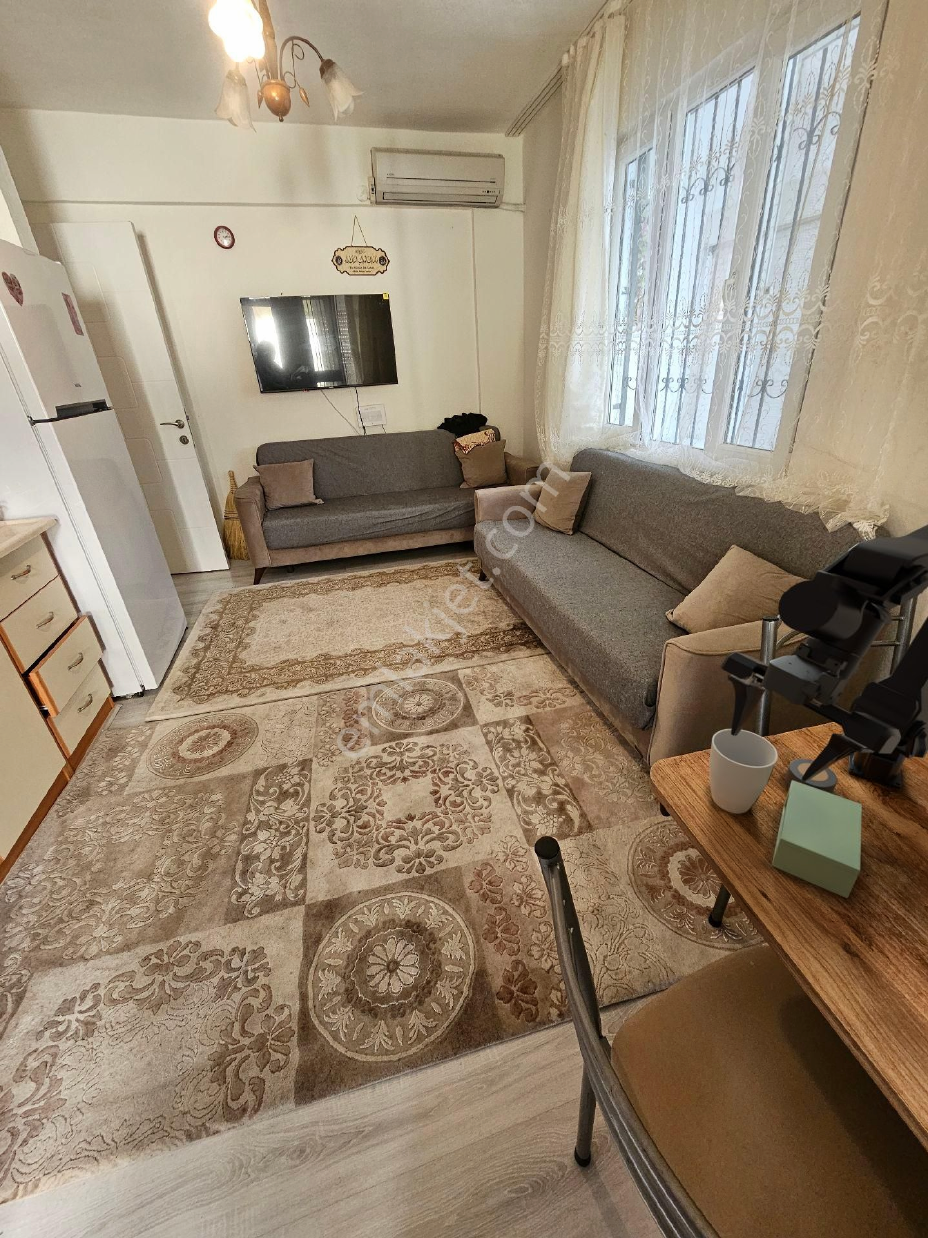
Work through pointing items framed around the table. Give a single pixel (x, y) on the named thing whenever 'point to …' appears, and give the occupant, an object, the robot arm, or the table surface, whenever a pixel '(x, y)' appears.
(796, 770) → the tape
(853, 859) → the sage green box
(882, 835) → the table surface
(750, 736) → the cup
